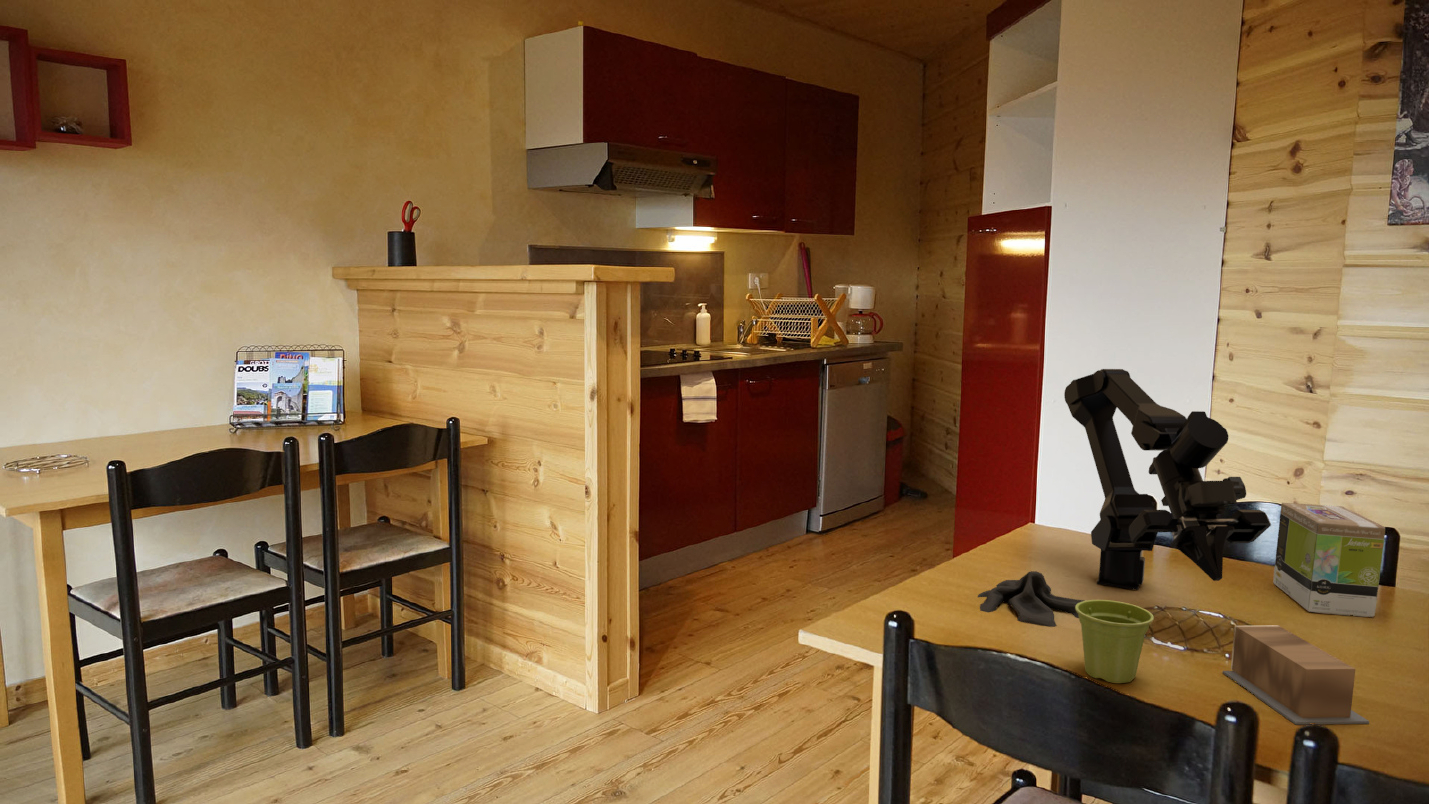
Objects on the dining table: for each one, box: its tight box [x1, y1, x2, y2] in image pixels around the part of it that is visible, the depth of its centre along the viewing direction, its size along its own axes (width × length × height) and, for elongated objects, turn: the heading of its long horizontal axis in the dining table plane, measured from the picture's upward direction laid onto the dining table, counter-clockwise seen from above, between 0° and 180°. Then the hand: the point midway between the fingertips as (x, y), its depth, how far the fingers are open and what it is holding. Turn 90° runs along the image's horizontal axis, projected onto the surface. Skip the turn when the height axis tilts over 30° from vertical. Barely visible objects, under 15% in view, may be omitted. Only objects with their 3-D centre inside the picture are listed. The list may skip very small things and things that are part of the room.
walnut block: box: [1230, 624, 1356, 718], centre depth 118 cm, size 6×6×14 cm
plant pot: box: [1075, 599, 1155, 684], centre depth 123 cm, size 9×9×9 cm
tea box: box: [1272, 502, 1386, 618], centre depth 153 cm, size 15×10×15 cm, turn 168°
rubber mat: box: [1222, 670, 1370, 726], centre depth 117 cm, size 14×9×1 cm, turn 3°
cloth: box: [977, 570, 1086, 628], centre depth 149 cm, size 22×19×6 cm
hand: (1218, 579), depth 133 cm, fingers closed
